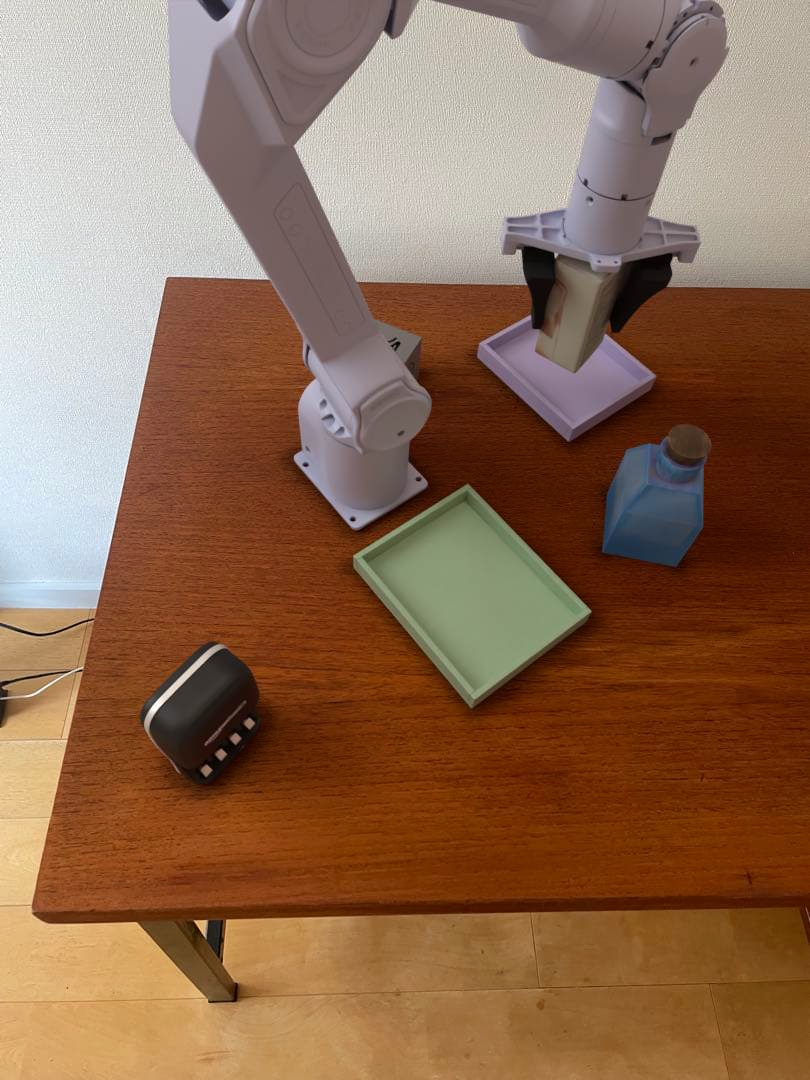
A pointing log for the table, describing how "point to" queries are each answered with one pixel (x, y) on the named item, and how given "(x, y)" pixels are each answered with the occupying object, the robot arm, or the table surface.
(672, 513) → the perfume bottle
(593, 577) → the table surface
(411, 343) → the dice cube
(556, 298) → the cream cardboard box
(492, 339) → the lavender tray
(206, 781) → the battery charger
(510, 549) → the sage tray
